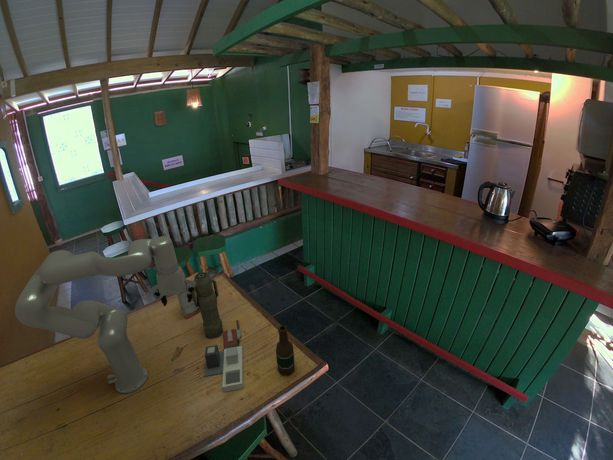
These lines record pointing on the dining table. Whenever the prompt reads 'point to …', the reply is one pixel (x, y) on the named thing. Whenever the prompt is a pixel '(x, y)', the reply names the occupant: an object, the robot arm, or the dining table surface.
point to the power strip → (233, 369)
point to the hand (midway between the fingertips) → (178, 302)
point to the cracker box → (188, 307)
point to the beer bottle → (284, 353)
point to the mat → (217, 369)
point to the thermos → (207, 304)
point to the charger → (212, 356)
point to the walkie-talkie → (232, 337)
